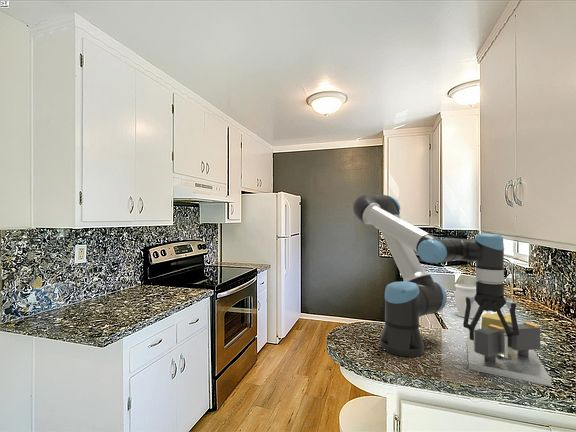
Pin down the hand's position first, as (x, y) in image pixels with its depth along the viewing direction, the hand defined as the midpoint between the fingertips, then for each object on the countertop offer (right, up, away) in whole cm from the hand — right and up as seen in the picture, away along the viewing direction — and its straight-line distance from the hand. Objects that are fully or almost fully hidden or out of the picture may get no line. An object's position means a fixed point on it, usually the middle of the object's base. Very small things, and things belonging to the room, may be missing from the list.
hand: (490, 352), depth 97 cm
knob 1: (0, -2, 0) cm, 2 cm away
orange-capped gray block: (+14, -2, +4) cm, 14 cm away
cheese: (+17, -5, +20) cm, 27 cm away
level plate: (+6, -4, +3) cm, 8 cm away
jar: (+23, -6, +52) cm, 57 cm away
